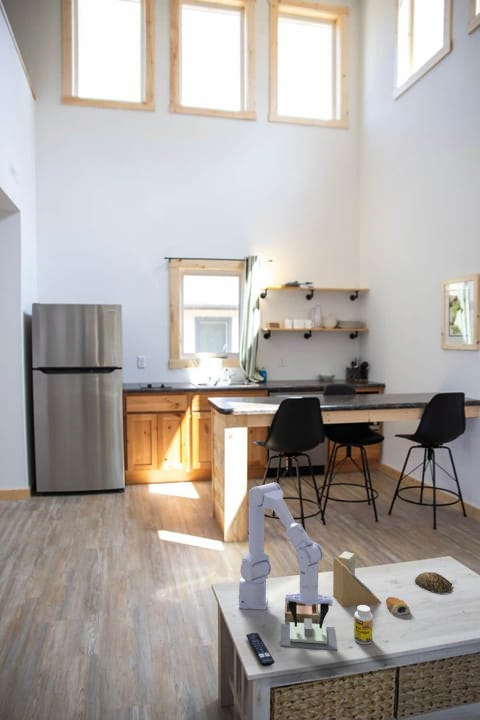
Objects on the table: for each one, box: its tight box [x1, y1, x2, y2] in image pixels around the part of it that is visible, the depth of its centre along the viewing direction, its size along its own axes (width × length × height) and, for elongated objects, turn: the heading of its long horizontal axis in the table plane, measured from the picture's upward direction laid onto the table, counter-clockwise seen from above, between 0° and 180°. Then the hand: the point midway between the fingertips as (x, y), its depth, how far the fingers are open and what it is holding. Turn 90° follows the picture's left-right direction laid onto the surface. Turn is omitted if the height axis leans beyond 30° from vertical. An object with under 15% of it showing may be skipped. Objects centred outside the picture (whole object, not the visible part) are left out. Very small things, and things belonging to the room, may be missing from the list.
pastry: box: [385, 596, 410, 616], centre depth 185 cm, size 9×7×4 cm
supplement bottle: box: [353, 605, 374, 645], centre depth 165 cm, size 6×6×10 cm
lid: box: [289, 618, 327, 644], centre depth 167 cm, size 11×9×4 cm
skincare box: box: [337, 550, 356, 576], centre depth 200 cm, size 6×4×12 cm
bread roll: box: [414, 571, 453, 594], centre depth 202 cm, size 13×12×5 cm
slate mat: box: [279, 623, 338, 651], centre depth 167 cm, size 17×12×1 cm
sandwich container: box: [332, 556, 382, 608], centre depth 191 cm, size 9×15×15 cm, turn 103°
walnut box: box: [284, 602, 319, 624], centre depth 180 cm, size 11×9×3 cm
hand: (308, 625), depth 167 cm, fingers open, 7 cm apart
